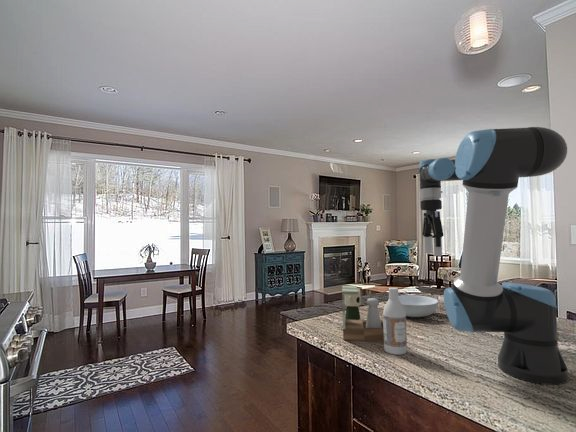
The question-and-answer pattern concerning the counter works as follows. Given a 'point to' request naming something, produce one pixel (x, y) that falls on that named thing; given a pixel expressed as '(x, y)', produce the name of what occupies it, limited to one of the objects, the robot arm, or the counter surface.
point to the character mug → (353, 306)
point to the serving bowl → (418, 305)
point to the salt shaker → (373, 314)
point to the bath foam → (394, 325)
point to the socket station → (358, 323)
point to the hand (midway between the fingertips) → (432, 254)
